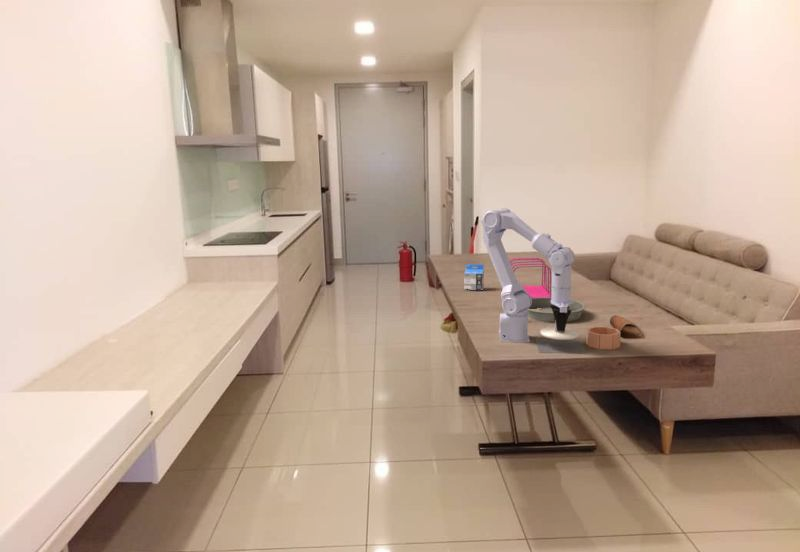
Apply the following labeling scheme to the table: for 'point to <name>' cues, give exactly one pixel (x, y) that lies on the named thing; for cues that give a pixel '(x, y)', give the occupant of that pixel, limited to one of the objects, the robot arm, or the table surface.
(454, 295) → the table surface
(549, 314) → the cake pan
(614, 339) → the bowl
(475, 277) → the label tape box
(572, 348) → the mat
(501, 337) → the robot arm
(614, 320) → the sunglasses case
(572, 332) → the lid
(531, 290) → the file sorter
